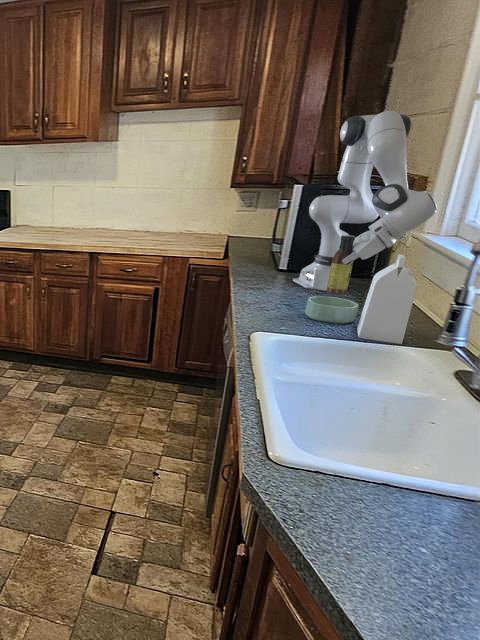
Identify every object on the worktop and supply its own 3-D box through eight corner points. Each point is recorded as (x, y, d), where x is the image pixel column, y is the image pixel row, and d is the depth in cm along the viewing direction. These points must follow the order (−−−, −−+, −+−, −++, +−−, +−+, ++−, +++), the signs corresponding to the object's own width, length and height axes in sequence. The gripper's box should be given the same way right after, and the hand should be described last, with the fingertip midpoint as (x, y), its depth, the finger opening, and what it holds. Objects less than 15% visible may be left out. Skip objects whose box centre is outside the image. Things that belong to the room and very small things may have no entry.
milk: (356, 327, 179) (377, 251, 170) (398, 333, 174) (421, 254, 164) (358, 337, 170) (380, 257, 160) (401, 344, 164) (427, 261, 155)
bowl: (295, 312, 197) (298, 296, 194) (334, 311, 198) (338, 295, 196) (322, 325, 182) (326, 308, 180) (364, 324, 184) (369, 307, 181)
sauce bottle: (348, 295, 183) (363, 237, 176) (329, 294, 184) (342, 237, 177) (341, 290, 189) (355, 234, 182) (322, 289, 190) (335, 234, 183)
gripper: (369, 222, 184) (331, 248, 192) (382, 230, 167) (339, 258, 174) (381, 236, 184) (342, 262, 192) (395, 245, 167) (351, 273, 174)
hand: (341, 260), depth 183 cm, fingers closed on sauce bottle, 6 cm apart
